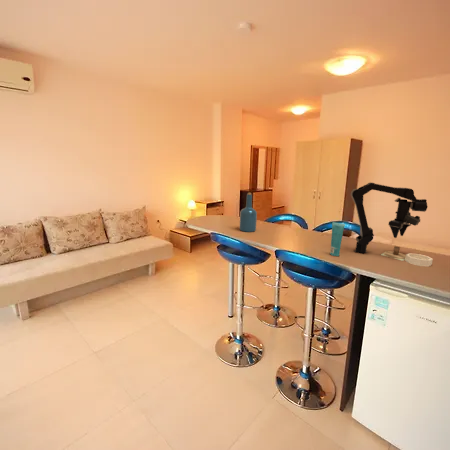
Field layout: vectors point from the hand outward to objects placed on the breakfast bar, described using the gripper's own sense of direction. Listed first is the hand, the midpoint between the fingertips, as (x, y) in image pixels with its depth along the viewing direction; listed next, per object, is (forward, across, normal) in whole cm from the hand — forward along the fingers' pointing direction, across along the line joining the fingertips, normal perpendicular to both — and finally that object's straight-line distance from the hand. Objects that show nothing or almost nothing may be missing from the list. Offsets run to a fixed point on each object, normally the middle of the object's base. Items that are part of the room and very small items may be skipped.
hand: (398, 236), depth 152 cm
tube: (+12, -29, +21) cm, 38 cm away
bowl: (+12, -3, -12) cm, 17 cm away
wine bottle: (+12, -32, +94) cm, 101 cm away
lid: (+11, 0, 0) cm, 11 cm away
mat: (+12, 0, 0) cm, 12 cm away
